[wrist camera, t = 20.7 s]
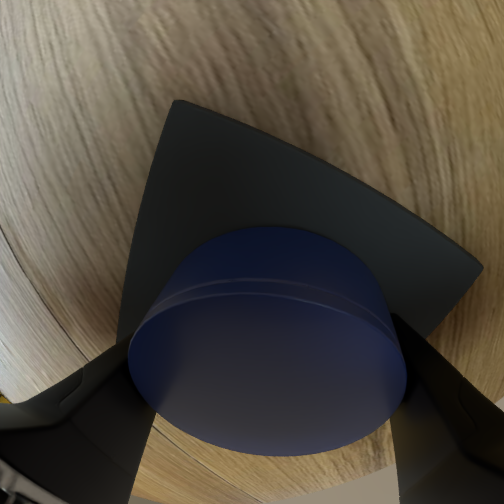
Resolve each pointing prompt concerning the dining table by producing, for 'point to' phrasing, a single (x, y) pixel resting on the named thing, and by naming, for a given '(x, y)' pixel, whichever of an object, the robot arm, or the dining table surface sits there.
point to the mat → (280, 216)
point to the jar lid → (270, 345)
